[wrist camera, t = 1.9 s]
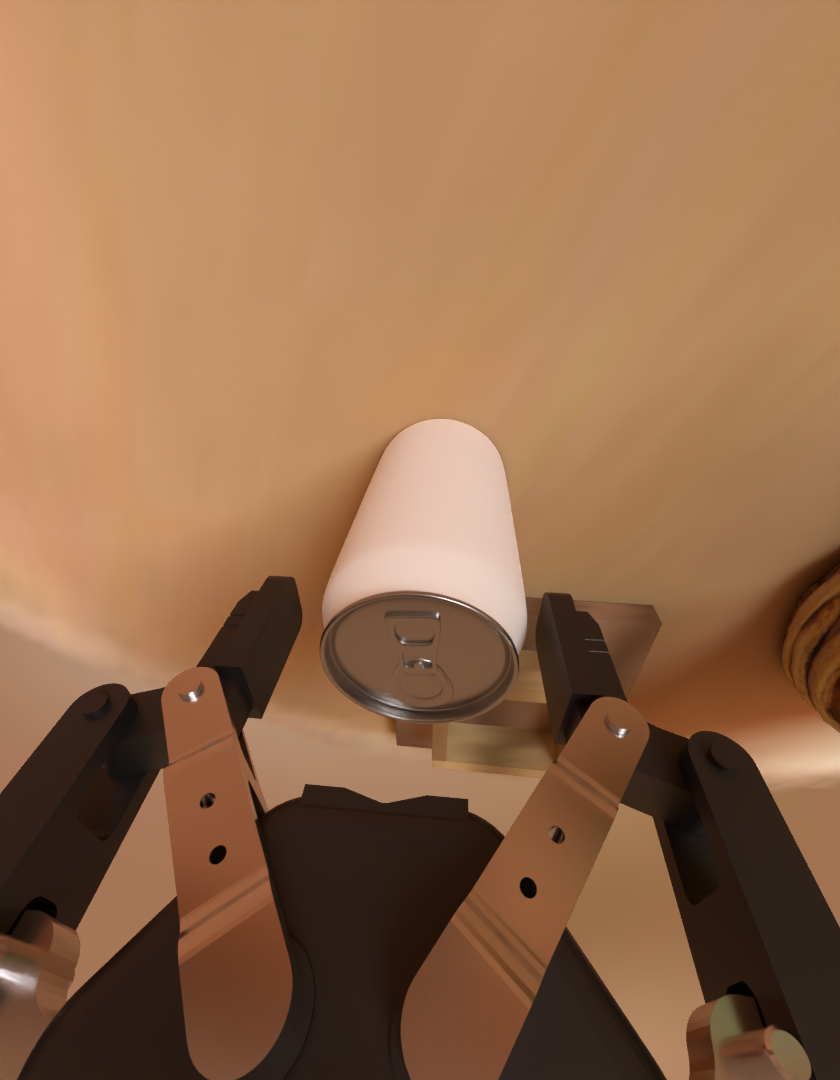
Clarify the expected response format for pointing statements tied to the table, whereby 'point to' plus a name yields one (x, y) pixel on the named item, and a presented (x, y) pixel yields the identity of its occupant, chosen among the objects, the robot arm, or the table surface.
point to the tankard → (816, 648)
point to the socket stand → (532, 701)
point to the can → (428, 583)
